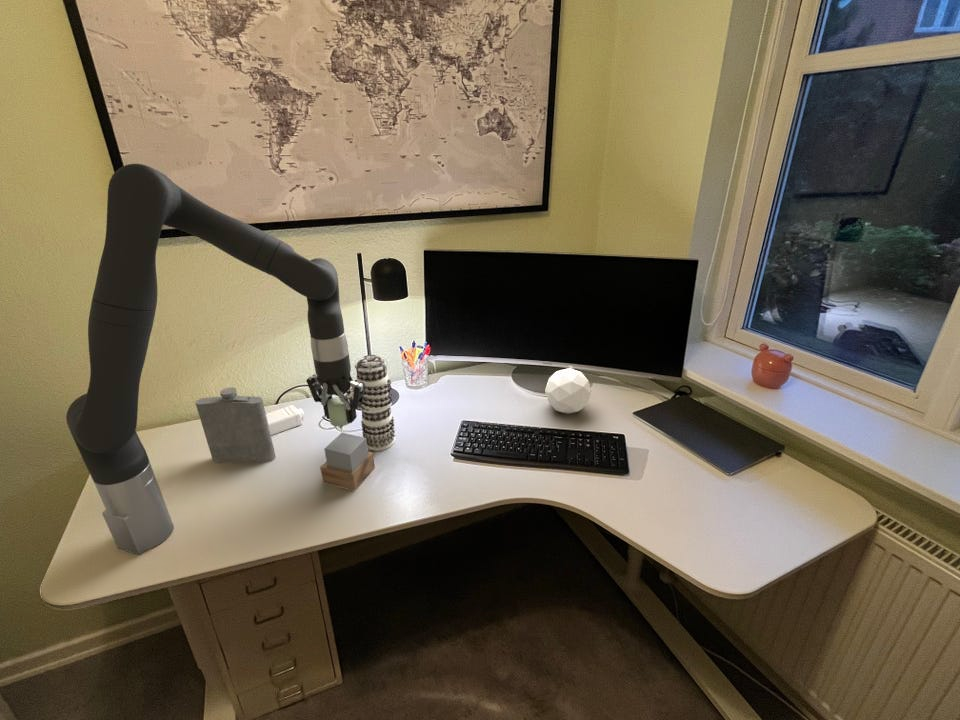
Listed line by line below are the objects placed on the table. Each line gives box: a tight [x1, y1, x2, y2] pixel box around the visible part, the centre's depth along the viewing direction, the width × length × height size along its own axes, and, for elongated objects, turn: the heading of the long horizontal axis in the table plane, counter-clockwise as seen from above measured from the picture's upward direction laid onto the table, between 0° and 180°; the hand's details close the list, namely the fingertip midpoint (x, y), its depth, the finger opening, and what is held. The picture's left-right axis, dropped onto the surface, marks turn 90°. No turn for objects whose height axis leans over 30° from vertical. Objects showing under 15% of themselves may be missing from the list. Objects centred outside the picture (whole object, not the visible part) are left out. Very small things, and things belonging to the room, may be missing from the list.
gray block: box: [324, 432, 369, 472], centre depth 116 cm, size 7×7×5 cm
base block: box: [319, 451, 376, 492], centre depth 118 cm, size 9×9×5 cm
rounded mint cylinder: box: [327, 396, 350, 427], centre depth 111 cm, size 5×5×5 cm
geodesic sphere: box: [544, 365, 592, 415], centre depth 144 cm, size 14×14×14 cm
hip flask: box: [195, 386, 277, 464], centre depth 121 cm, size 16×4×20 cm, turn 91°
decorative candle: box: [354, 354, 396, 452], centre depth 126 cm, size 9×9×25 cm
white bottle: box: [266, 404, 305, 436], centre depth 138 cm, size 7×13×4 cm, turn 129°
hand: (341, 419), depth 112 cm, fingers closed on rounded mint cylinder, 5 cm apart
